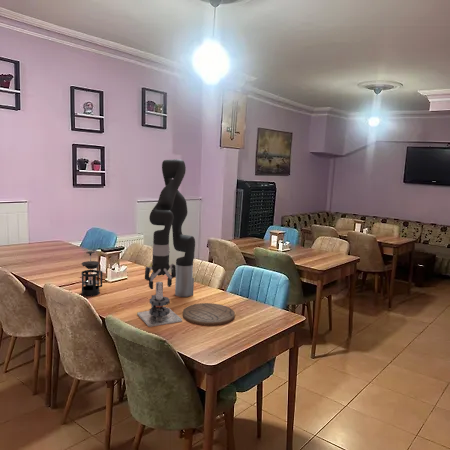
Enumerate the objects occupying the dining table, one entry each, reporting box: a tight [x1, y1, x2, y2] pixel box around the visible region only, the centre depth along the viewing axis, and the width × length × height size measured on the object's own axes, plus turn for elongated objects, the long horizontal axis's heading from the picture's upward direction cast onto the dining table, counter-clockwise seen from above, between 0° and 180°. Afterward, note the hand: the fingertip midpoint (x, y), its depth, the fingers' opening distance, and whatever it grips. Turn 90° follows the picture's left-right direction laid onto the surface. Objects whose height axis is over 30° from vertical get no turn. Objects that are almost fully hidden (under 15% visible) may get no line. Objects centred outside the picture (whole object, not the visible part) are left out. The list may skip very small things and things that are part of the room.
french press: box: [80, 251, 103, 298], centre depth 218 cm, size 12×9×23 cm
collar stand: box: [136, 294, 183, 328], centre depth 190 cm, size 16×16×9 cm
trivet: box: [182, 302, 236, 327], centre depth 197 cm, size 25×25×2 cm
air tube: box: [155, 281, 164, 317], centre depth 189 cm, size 3×3×16 cm
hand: (160, 287), depth 188 cm, fingers open, 8 cm apart
